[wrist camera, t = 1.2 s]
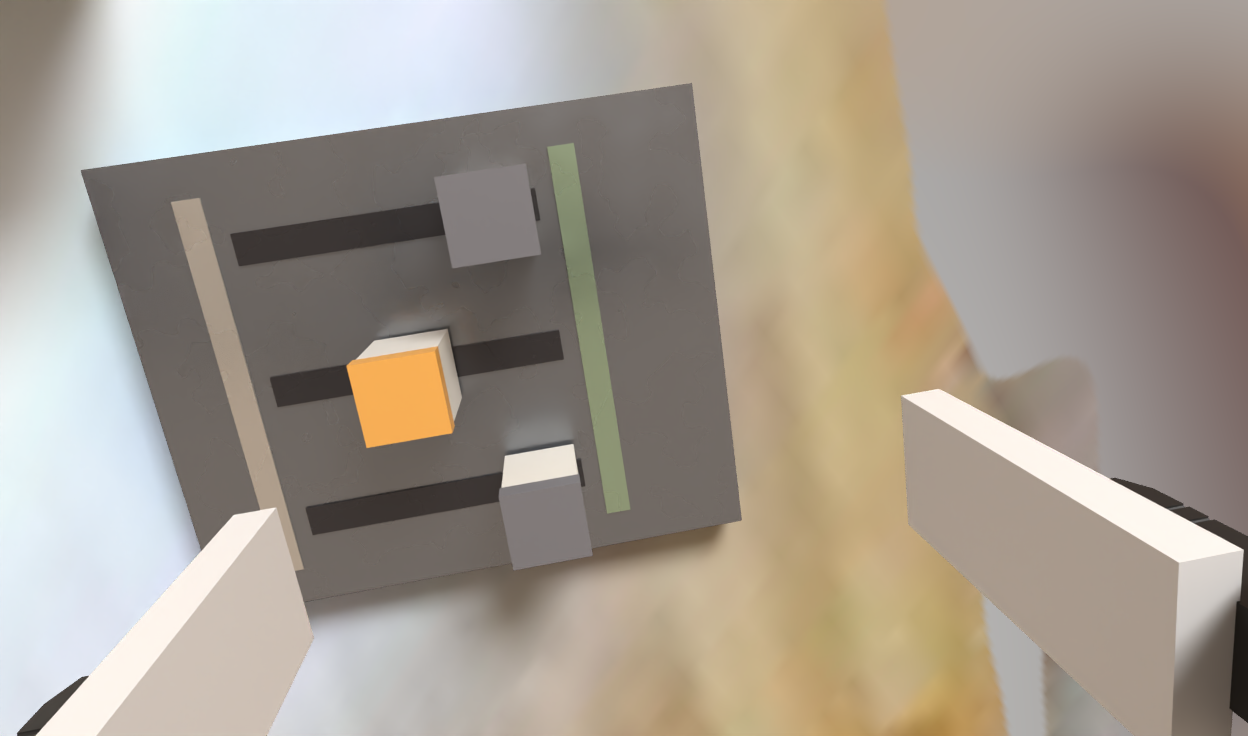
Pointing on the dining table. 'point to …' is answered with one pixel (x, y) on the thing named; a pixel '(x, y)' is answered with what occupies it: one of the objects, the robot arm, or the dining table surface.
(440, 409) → the tripped breaker
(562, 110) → the panel
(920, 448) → the robot arm
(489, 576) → the dining table surface
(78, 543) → the dining table surface
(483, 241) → the block
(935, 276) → the dining table surface
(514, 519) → the block
